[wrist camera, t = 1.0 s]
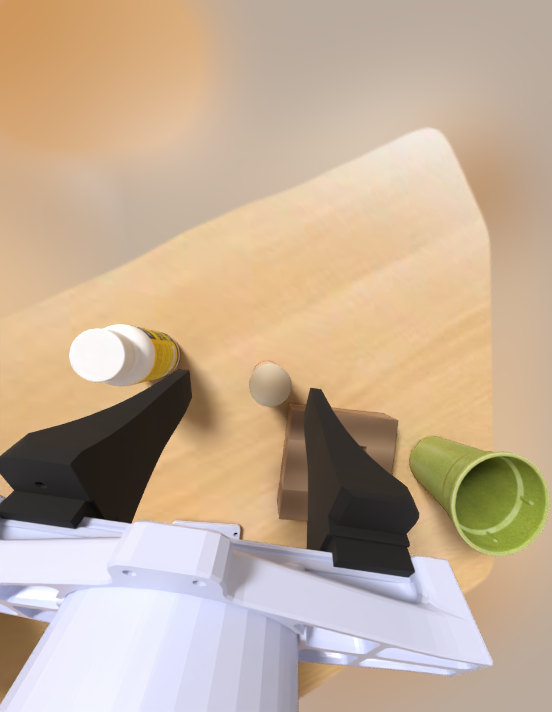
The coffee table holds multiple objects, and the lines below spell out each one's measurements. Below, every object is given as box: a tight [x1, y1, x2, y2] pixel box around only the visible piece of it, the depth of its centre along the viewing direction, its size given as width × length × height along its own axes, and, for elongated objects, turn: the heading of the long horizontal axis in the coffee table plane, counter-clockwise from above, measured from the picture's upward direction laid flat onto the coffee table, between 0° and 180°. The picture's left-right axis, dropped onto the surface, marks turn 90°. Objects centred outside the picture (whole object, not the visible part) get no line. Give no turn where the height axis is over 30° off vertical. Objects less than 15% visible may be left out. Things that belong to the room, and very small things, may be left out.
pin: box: [249, 361, 291, 407], centre depth 24 cm, size 4×4×8 cm
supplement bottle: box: [69, 324, 180, 386], centre depth 22 cm, size 5×5×10 cm
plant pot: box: [409, 436, 550, 556], centre depth 25 cm, size 9×9×9 cm
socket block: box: [277, 403, 398, 521], centre depth 27 cm, size 12×12×3 cm
